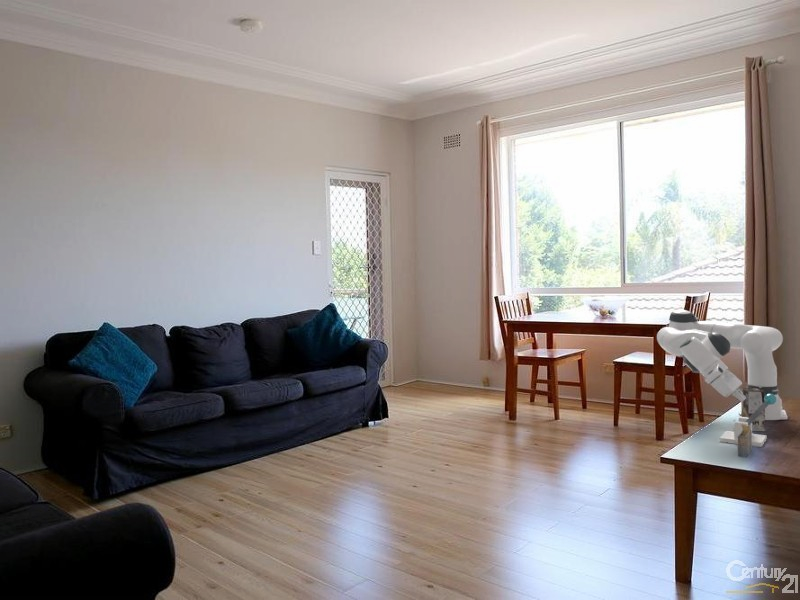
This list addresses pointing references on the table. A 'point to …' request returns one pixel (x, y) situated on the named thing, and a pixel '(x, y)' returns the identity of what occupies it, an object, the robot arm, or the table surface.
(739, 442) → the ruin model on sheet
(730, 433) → the lever stand
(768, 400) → the lever
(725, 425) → the table surface
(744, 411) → the coffee box
